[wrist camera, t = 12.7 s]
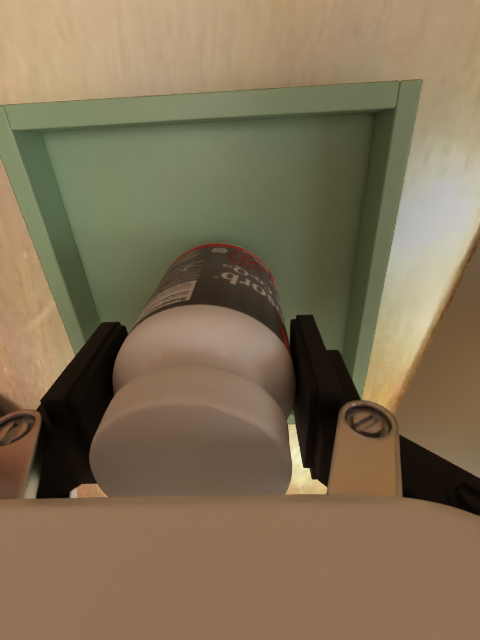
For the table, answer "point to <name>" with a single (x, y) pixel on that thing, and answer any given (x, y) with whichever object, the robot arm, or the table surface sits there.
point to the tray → (217, 197)
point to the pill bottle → (201, 385)
